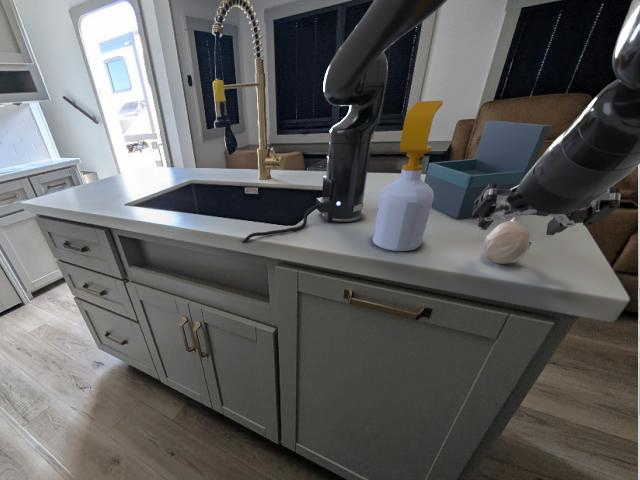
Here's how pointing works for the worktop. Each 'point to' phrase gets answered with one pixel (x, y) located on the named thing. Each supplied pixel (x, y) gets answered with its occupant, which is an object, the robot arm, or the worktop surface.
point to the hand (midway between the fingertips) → (515, 227)
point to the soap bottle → (408, 187)
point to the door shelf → (486, 166)
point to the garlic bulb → (507, 242)
